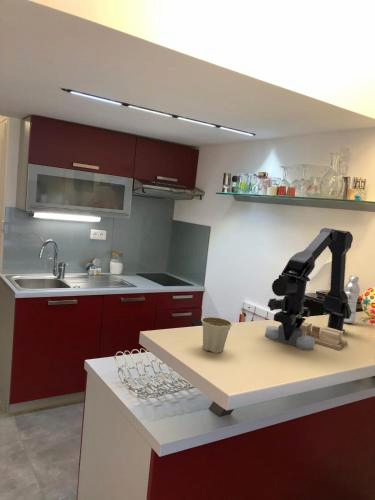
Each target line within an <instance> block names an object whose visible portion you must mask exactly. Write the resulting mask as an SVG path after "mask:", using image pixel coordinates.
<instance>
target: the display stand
mask: <svg viewBox="0 0 375 500" xmlns="http://www.w3.org/2000/svg"><path fill="white" fill-rule="evenodd" d="M300 329H303V331H302V335H306V336H310V337H312V338H314V339H315V343H314V344H316V345H320V346H323V347H327V348H330V349H333V350H335V351H336V350H338V351H340V350H342V349H343V348H344V347H345V346H346V345H348V340H344V339H343V334H344V332H343V331H339V330H336V329H332V328H328V327H327V326H325V327H324V328H322V329H321V326H319V325H315V324H314V325H313V322H309V321H306V320H305V321H304V322H303V324H302V325H301V327H300Z"/></svg>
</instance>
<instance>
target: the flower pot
mask: <svg viewBox="0 0 375 500" xmlns="http://www.w3.org/2000/svg"><path fill="white" fill-rule="evenodd" d="M200 321H201V326H202V348H203V349H204V350H205V351H210V352H212V353H221V352H223V351H224V348H225V345H226V342H227V338H228V334H229V331H230V330H231V327H232V326H233V323H232V321H230V320H228V319H225V318H222V317H217V316H216V317H215V316H205V317H202V318H201V319H200Z"/></svg>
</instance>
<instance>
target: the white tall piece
mask: <svg viewBox="0 0 375 500" xmlns="http://www.w3.org/2000/svg"><path fill="white" fill-rule="evenodd" d="M358 283H359V276H355V275H349V278H348V282H347V283H346V284H344V291H345V293H346V295H347V297H348V304H349V307H350V310H351V312H352V313H351V316H350V318H349V319H344V324H353V323H355V322H356V320H357V314H356V313H357V304H358V298H359V296H360V293H361V288H360V285H359V284H358Z"/></svg>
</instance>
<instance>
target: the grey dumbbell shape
mask: <svg viewBox="0 0 375 500" xmlns="http://www.w3.org/2000/svg"><path fill="white" fill-rule="evenodd" d="M302 331H303V329H300V328H296V327H295V329H294V331H293V333H292V335H291V337H290V338H289V340H288V341H287V340H285V336H284V330H283V325H282V324H280V325H278V326H274V325H267V326H266V327H265V333H264V337H265V338H266V339H269V340H273V341H279V342H281V343H282V342H283V343H286V344H289V345H292V346H295V347H297V348H298V349H301V350H305V351H311V350H313V351H314V349H315V344H316V343H315V339H314V338H312V337H310V336H306V335H302Z"/></svg>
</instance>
